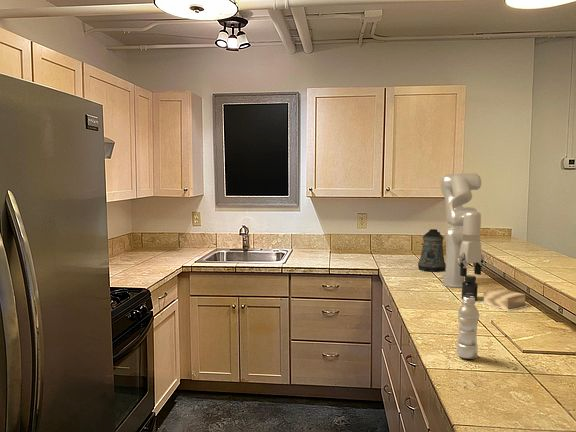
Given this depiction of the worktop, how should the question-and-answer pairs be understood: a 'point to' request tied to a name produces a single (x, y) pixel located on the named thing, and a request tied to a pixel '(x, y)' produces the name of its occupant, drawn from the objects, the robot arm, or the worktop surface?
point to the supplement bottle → (470, 287)
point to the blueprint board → (507, 309)
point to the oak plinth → (504, 298)
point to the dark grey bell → (432, 252)
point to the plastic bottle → (468, 329)
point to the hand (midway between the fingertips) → (470, 275)
